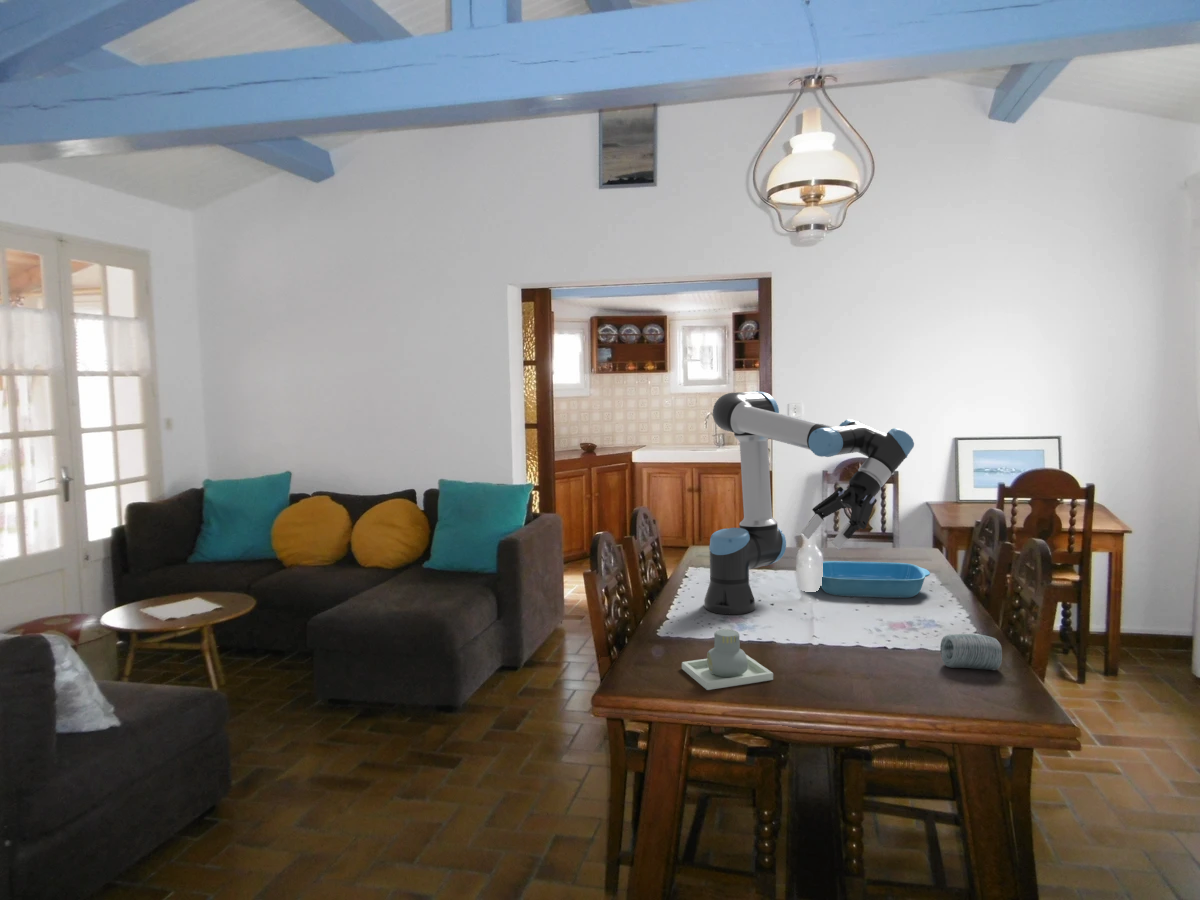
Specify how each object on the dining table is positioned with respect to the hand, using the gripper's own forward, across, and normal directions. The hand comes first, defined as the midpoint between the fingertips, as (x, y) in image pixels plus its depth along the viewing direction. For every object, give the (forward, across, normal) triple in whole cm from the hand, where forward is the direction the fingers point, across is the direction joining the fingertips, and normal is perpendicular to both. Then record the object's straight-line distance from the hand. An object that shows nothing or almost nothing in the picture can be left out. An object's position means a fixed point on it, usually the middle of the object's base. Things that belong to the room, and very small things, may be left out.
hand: (819, 540), depth 212 cm
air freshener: (+42, -9, +3) cm, 43 cm away
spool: (+3, -27, -37) cm, 46 cm away
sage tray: (+43, -9, +2) cm, 44 cm away
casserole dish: (-12, +38, -51) cm, 65 cm away
